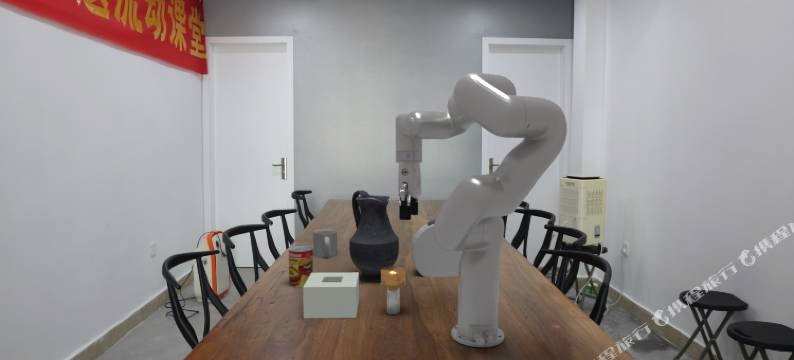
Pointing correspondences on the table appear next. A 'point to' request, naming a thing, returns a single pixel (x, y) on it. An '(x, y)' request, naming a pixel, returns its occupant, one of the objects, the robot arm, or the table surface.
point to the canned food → (300, 265)
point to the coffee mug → (325, 243)
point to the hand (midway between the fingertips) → (409, 217)
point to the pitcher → (372, 236)
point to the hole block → (331, 295)
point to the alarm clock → (433, 255)
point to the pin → (393, 286)
